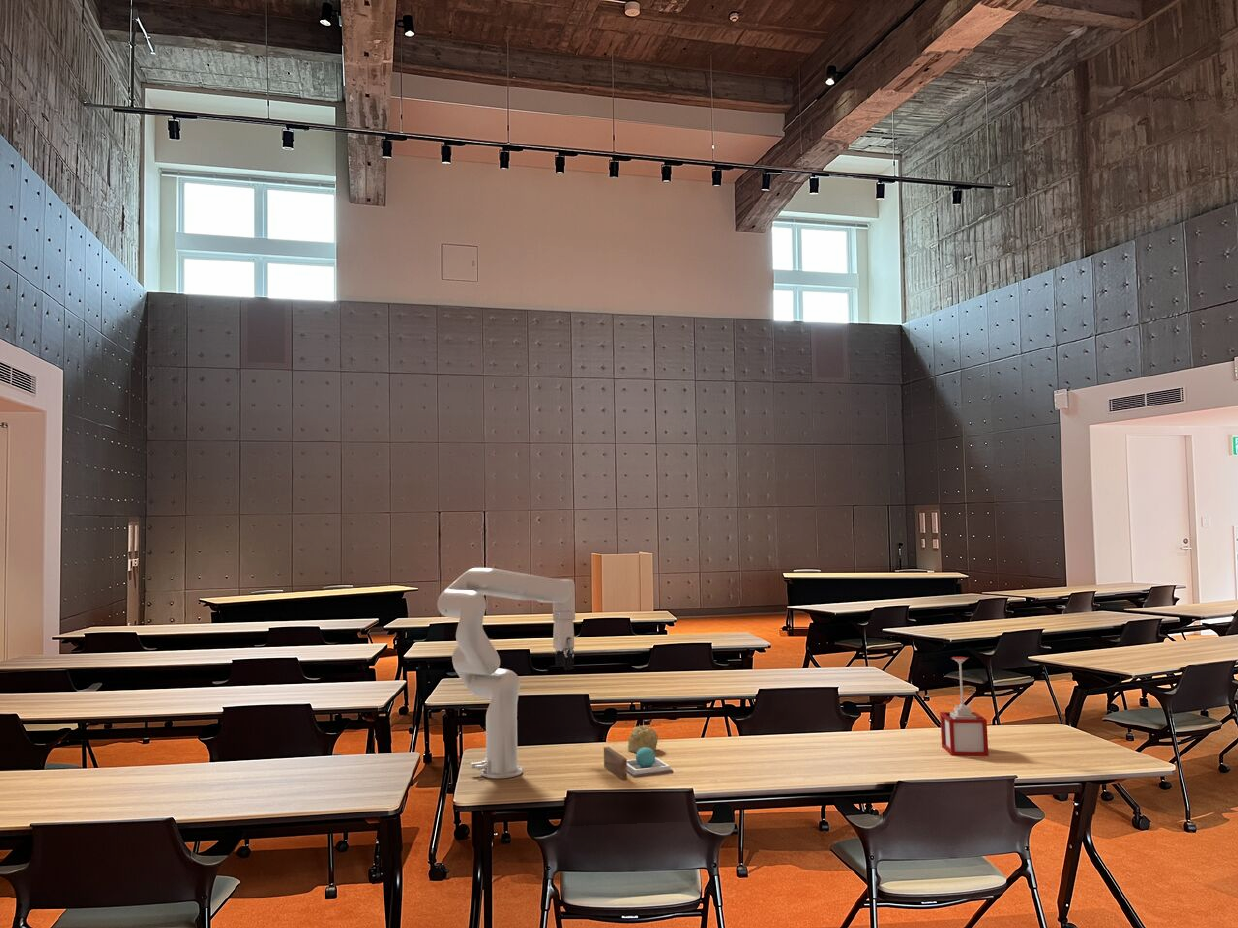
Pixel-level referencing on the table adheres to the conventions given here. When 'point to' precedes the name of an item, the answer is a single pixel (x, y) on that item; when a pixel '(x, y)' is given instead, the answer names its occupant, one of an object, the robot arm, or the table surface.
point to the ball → (645, 757)
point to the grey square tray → (656, 768)
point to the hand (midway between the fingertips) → (564, 667)
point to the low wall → (615, 763)
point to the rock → (642, 739)
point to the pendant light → (963, 728)
